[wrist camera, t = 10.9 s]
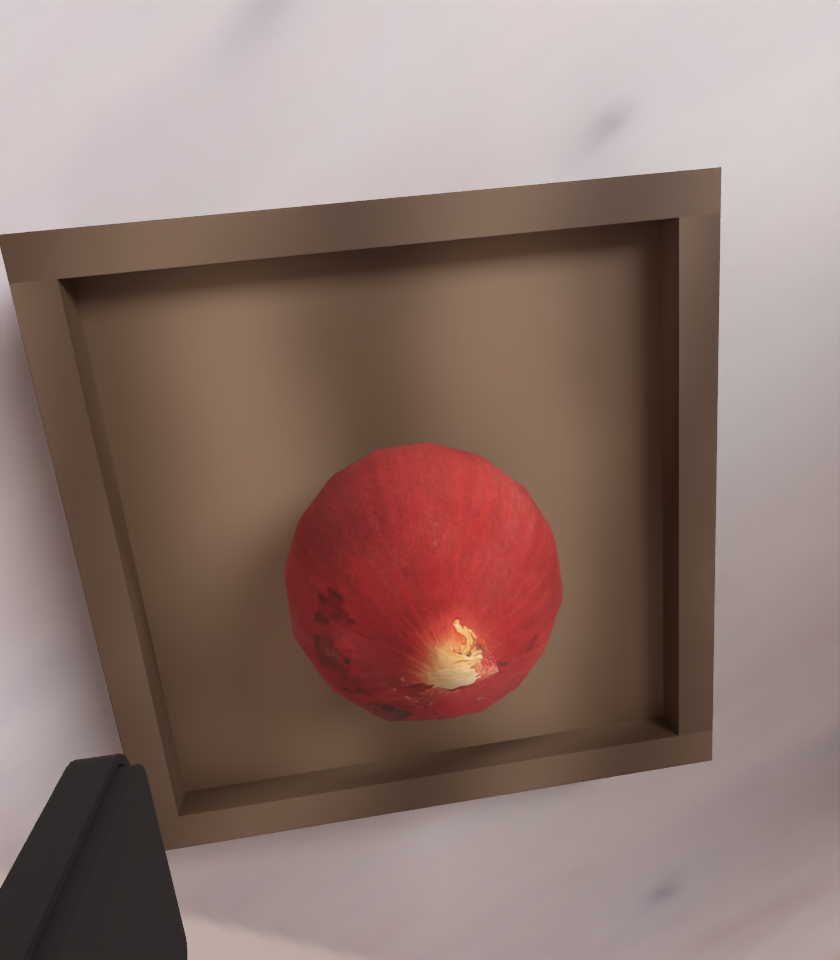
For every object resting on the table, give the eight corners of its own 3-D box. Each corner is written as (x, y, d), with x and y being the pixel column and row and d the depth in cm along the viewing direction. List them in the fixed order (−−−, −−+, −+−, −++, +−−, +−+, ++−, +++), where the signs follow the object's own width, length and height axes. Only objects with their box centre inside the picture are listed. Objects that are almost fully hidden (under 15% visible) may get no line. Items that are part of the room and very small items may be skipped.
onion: (427, 659, 21) (482, 887, 13) (250, 551, 19) (197, 737, 12) (556, 494, 20) (696, 636, 12) (380, 368, 19) (415, 441, 11)
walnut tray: (649, 185, 21) (720, 167, 17) (654, 686, 26) (711, 760, 22) (61, 241, 20) (-3, 235, 16) (176, 760, 24) (147, 853, 20)
